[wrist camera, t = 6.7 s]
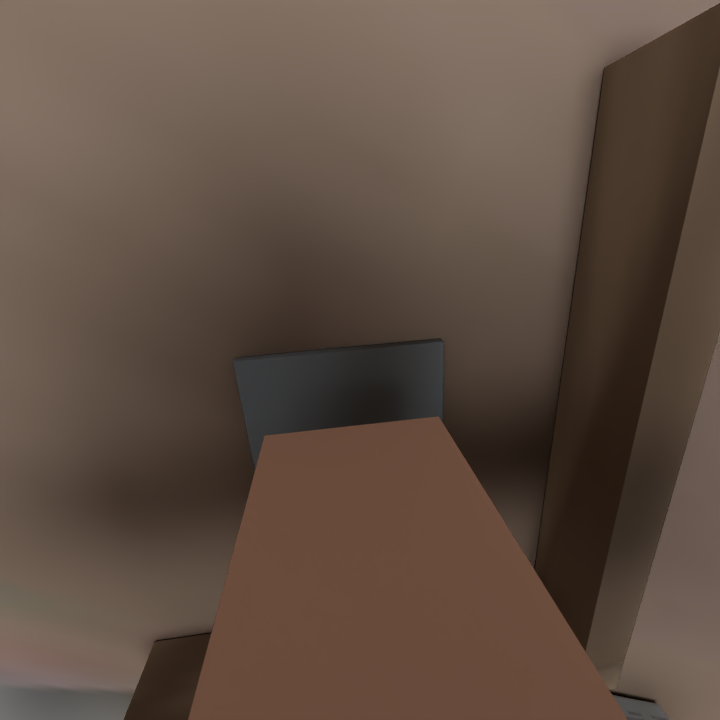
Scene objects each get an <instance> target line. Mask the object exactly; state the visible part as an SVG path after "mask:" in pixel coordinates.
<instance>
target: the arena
mask: <svg viewBox="0 0 720 720" xmlns="http://www.w3.org/2000/svg"><path fill="white" fill-rule="evenodd" d="M719 331H720V3H719V4H718V5H716V6H714V7H712V8H710V9H709V10H707V11H705V12H703V13H702V14H700V15H698V16H696V17H694V18H693V19H691V20H689V21H687V22H685V23H684V24H682V25H680V26H678V27H677V28H675V29H673V30H671V31H669V32H668V33H666V34H664V35H662V36H660V37H659V38H657V39H655V40H653V41H652V42H650V43H648V44H646V45H644V46H643V47H641V48H639V49H637V50H635V51H634V52H632V53H630V54H628V55H627V56H625V57H623V58H621V59H619V60H618V61H616V62H614V63H612V64H611V65H609V66H607V67H605V68H604V75H603V83H602V90H601V97H600V104H599V111H598V119H597V126H596V133H595V140H594V147H593V155H592V162H591V169H590V176H589V183H588V191H587V198H586V205H585V212H584V219H583V227H582V234H581V241H580V248H579V255H578V262H577V270H576V277H575V284H574V291H573V298H572V306H571V313H570V320H569V327H568V334H567V342H566V349H565V356H564V363H563V370H562V378H561V385H560V392H559V399H558V406H557V414H556V421H555V428H554V435H553V442H552V450H551V457H550V464H549V471H548V478H547V486H546V493H545V500H544V507H543V514H542V521H541V529H540V536H539V543H538V550H537V557H536V565H535V572H536V573H537V575H538V577H539V578H540V580H541V581H542V583H543V585H544V586H545V588H546V589H547V591H548V593H549V594H550V596H551V597H552V599H553V601H554V602H555V604H556V605H557V607H558V609H559V610H560V612H561V613H562V615H563V617H564V618H565V620H566V621H567V623H568V625H569V626H570V628H571V629H572V631H573V633H574V634H575V636H576V638H577V639H578V641H579V642H580V644H581V646H582V647H583V649H584V650H585V652H586V654H587V655H588V657H589V658H590V660H591V662H592V663H593V665H594V666H595V668H596V670H597V671H598V673H599V674H600V676H601V678H602V679H603V681H604V682H605V684H606V686H607V687H608V689H609V690H612V689H616V687H617V683H618V680H619V677H620V673H621V670H622V666H623V663H624V659H625V656H626V652H627V649H628V645H629V642H630V639H631V635H632V632H633V628H634V625H635V621H636V618H637V614H638V611H639V607H640V604H641V601H642V597H643V594H644V590H645V587H646V583H647V580H648V576H649V573H650V569H651V566H652V563H653V559H654V556H655V552H656V549H657V545H658V542H659V538H660V535H661V532H662V528H663V525H664V521H665V518H666V514H667V511H668V507H669V504H670V500H671V497H672V494H673V490H674V487H675V483H676V480H677V476H678V473H679V469H680V466H681V462H682V459H683V456H684V452H685V449H686V445H687V442H688V438H689V435H690V431H691V428H692V424H693V421H694V418H695V414H696V411H697V407H698V404H699V400H700V397H701V393H702V390H703V387H704V383H705V380H706V376H707V373H708V369H709V366H710V362H711V359H712V355H713V352H714V349H715V345H716V342H717V338H718V335H719ZM233 365H234V370H235V375H236V380H237V385H238V390H239V395H240V400H241V405H242V410H243V415H244V420H245V425H246V430H247V435H248V440H249V445H250V450H251V455H252V460H253V465H254V470H255V469H256V466H257V462H258V458H259V455H260V451H261V447H262V443H263V440H264V436H266V435H275V434H284V433H293V432H302V431H311V430H320V429H329V428H338V427H347V426H356V425H365V424H375V423H384V422H393V421H402V420H411V419H420V418H429V417H438V416H439V418H440V419H441V421H442V423H443V368H444V341H443V340H442V339H431V340H420V341H409V342H399V343H388V344H378V345H367V346H357V347H346V348H335V349H325V350H314V351H304V352H293V353H283V354H272V355H261V356H251V357H240V358H235V359H234V361H233ZM210 637H211V633H210V634H204V635H197V636H190V637H183V638H177V639H170V640H163V641H157V642H154V645H153V647H152V650H151V652H150V655H149V657H148V660H147V662H146V665H145V667H144V670H143V673H142V675H141V678H140V680H139V683H138V685H137V688H136V690H135V693H134V695H133V698H132V700H131V703H130V705H129V708H128V710H127V713H126V715H125V718H124V720H187V719H188V718H189V715H190V711H191V707H192V703H193V700H194V696H195V692H196V689H197V685H198V681H199V677H200V674H201V670H202V666H203V663H204V659H205V655H206V651H207V648H208V644H209V640H210Z"/></svg>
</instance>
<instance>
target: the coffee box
mask: <svg viewBox="0 0 720 720" xmlns="http://www.w3.org/2000/svg"><path fill="white" fill-rule="evenodd" d="M613 697H614V698H615V700H616V702H617V703H618V705H619V706H620V708H621V710H622V711H623V713H624V714H625V716H626V718H627V719H628V720H669V718H668V717H667V716H666V714H665V713H664V711H663V710H662V709H661V707H660V706H659V705H658V704H655V703H651V702H646V701H641V700H635V699H630V698H625V697H621V696H616V695H613Z"/></svg>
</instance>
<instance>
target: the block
mask: <svg viewBox="0 0 720 720" xmlns="http://www.w3.org/2000/svg"><path fill="white" fill-rule="evenodd" d="M188 720H628V719H627V718H626V716H625V714H624V713H623V711H622V710H621V708H620V706H619V705H618V703H617V702H616V700H615V698H614V697H613V695H612V694H611V692H610V690H609V689H608V687H607V686H606V684H605V682H604V681H603V679H602V678H601V676H600V674H599V673H598V671H597V670H596V668H595V666H594V665H593V663H592V662H591V660H590V658H589V657H588V655H587V654H586V652H585V650H584V649H583V647H582V646H581V644H580V642H579V641H578V639H577V638H576V636H575V634H574V633H573V631H572V629H571V628H570V626H569V625H568V623H567V621H566V620H565V618H564V617H563V615H562V613H561V612H560V610H559V609H558V607H557V605H556V604H555V602H554V601H553V599H552V597H551V596H550V594H549V593H548V591H547V589H546V588H545V586H544V585H543V583H542V581H541V580H540V578H539V577H538V575H537V573H536V572H535V570H534V569H533V567H532V565H531V564H530V562H529V561H528V559H527V557H526V556H525V554H524V552H523V551H522V549H521V548H520V546H519V544H518V543H517V541H516V540H515V538H514V536H513V535H512V533H511V532H510V530H509V528H508V527H507V525H506V524H505V522H504V520H503V519H502V517H501V516H500V514H499V512H498V511H497V509H496V508H495V506H494V504H493V503H492V501H491V500H490V498H489V496H488V495H487V493H486V492H485V490H484V488H483V487H482V485H481V484H480V482H479V480H478V479H477V477H476V475H475V474H474V472H473V471H472V469H471V467H470V466H469V464H468V463H467V461H466V459H465V458H464V456H463V455H462V453H461V451H460V450H459V448H458V447H457V445H456V443H455V442H454V440H453V439H452V437H451V435H450V434H449V432H448V431H447V429H446V427H445V426H444V424H443V423H442V421H441V419H440V418H439V416H438V417H429V418H420V419H411V420H402V421H393V422H384V423H375V424H365V425H356V426H347V427H338V428H329V429H320V430H311V431H302V432H293V433H284V434H275V435H266V436H264V440H263V443H262V447H261V451H260V455H259V458H258V462H257V466H256V469H255V473H254V477H253V481H252V484H251V488H250V492H249V495H248V499H247V503H246V507H245V510H244V514H243V518H242V521H241V525H240V529H239V533H238V536H237V540H236V544H235V547H234V551H233V555H232V559H231V562H230V566H229V570H228V573H227V577H226V581H225V585H224V588H223V592H222V596H221V599H220V603H219V607H218V611H217V614H216V618H215V622H214V625H213V629H212V633H211V637H210V640H209V644H208V648H207V651H206V655H205V659H204V663H203V666H202V670H201V674H200V677H199V681H198V685H197V689H196V692H195V696H194V700H193V703H192V707H191V711H190V715H189V718H188Z"/></svg>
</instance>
